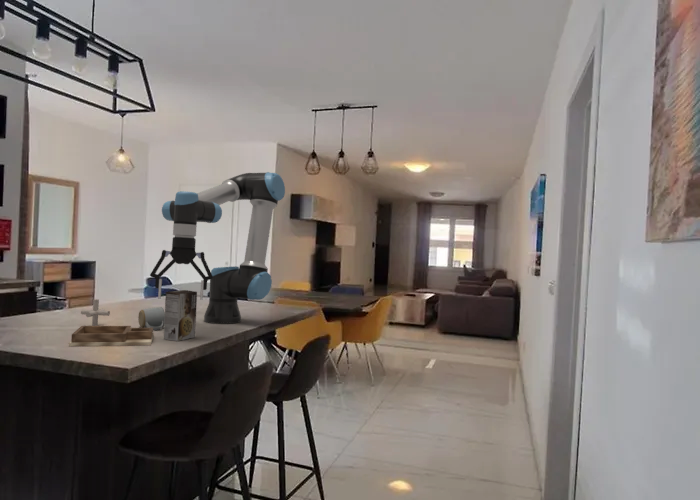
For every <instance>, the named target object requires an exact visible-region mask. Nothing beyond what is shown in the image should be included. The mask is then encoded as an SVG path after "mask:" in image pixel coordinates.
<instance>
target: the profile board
mask: <svg viewBox="0 0 700 500" xmlns="http://www.w3.org/2000/svg"><path fill="white" fill-rule="evenodd" d="M153 331H154V330H153V328H142V327H132V325H98V326H92V325H81V326H79V328H77V329H76V330H75V331H74V332H73V333H71V340H70V341H69V342H68V347H112V346H115V347H119V346H120V347H121V346H123V347H124V346H125V347H126V346H127V347H128V346H134V347H135V346H151V345H152V342H153V340H154V336H155V332H153Z"/></svg>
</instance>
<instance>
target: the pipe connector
mask: <svg viewBox="0 0 700 500" xmlns="http://www.w3.org/2000/svg"><path fill="white" fill-rule="evenodd" d="M99 300H100V299H98V298H95V299H93V302H92V309H81V310H80V314H81V315H85V316H86V317H87V318H90V317H92V318H91V319H92V321H91V322H92V323H91V326H99V325H98V324H99V316H104V317H105V316H110V315H111V311H110V310H105V309H104V308H101V309H99V302H100V301H99Z"/></svg>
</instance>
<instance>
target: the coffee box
mask: <svg viewBox="0 0 700 500" xmlns="http://www.w3.org/2000/svg"><path fill="white" fill-rule="evenodd" d="M197 299H198V291H193V290H187V289H181V290H174V291H173V290H172V291H165V301H164V305H165V306H164V312H165V321H164V326H163V340H166V341H167V340H168V341H173V342H180V341H185V340H189V339H192V338H196V326H197V302H198V300H197Z"/></svg>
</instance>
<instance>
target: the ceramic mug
mask: <svg viewBox="0 0 700 500" xmlns="http://www.w3.org/2000/svg"><path fill="white" fill-rule="evenodd" d="M137 318H138V324H139V328H153V331H160V330H162V329H163V328H164V321H165V308H164V307H162V306H158V307H151V308H150V307H148V308H143V309H141V310H140V311H139V312H138V317H137Z"/></svg>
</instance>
